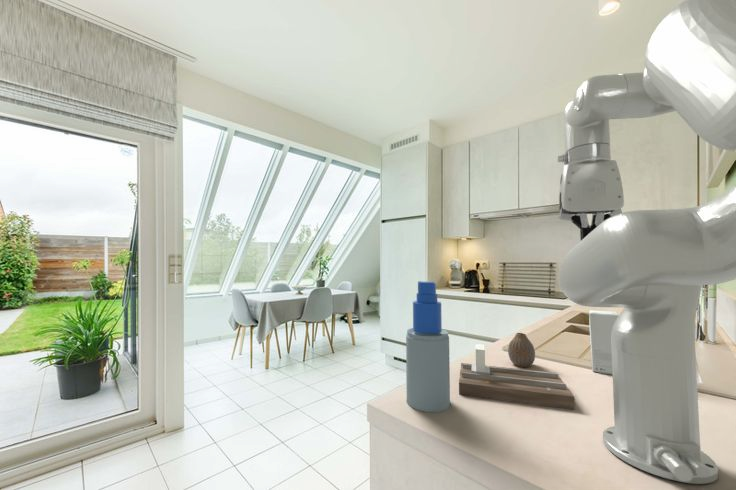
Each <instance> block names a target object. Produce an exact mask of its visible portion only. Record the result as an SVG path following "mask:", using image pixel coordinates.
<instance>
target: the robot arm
mask: <svg viewBox="0 0 736 490" xmlns="http://www.w3.org/2000/svg"><path fill="white" fill-rule="evenodd" d="M645 49H646V50H645V55H644V56H645V57H644V65H645V66H644V69H643V71H642V72H629V73H628V72H626V73H618V74H617V73H616V74H603V75H595V76H591V77H589V78H586V80H585V81H583V82H582V83H581V84H580V86H579V87H578V89H576V92H575V94H574V98H573V99H572V101H570V102H569V103H567V104H566V106H565V108H564V112H563V116H564V117H563V118H564V119H563V120H564V123H563V124H564V148H565V150H564V151H565V152H564V154H562V155H558V157H557V162H558V163H562V164H563V163H564V166H563V167H562V169H561V175H560V179H559V180H560V181H559V192H558V193H559V195H558V206H559V207H558V208H559V214H558V219H559V220H562V221H567V222H570V223H573V225H574V226H576V227H577V229H579V230H580V231H579V232H580V233H579V234H580V235H579V236H580V237H579V238H580V241H579V242H578V243H576V244H575V246H573V247H572V248H571V249H570V250H569V251H568V252H567V253H566V255H565V256H564V258H563V259H562V260H561V261H562V262H561V264H560V265H559V271H558V284H559V287H560V290H561V291H562V293H563V294H564V296H565V297H567V299H568V300H570V301H571V302H573V304H574V303H575V304H577V305H580V306H582V307H589V308H621V309H622V308H623V309H622V310H621V312H620V313H619V314H618V318H617V319H616V321H615V323H614V325H613V328H612V333H611V350H612V393H613V395H612V396H613V417H614V421H613V422H614V425H612V426H609V427H606V429H604V431H602V440H603V441H602V442H603V444H604V446H605V447H606V448H607V450H609V451H610V452H611V453H612V454H613V455H615V457H618V458H619V459H621V460H622V461H623V462H625V463H627V464H628V465H631V466H632V467H634V468H637V469H639V470H642V471H643V472H646V473H649V474H652V475H654V476H656V477H660V478H663V479H666V480H671V481H675V482H679V483H685V484H694V485H703V484H705V485H707V484H709V483H714V482H715V481H717V480H718V478H719V469H718V465H717V463H716V462H715V460H714V459H712V457H710V456H709V455H708V454H707V453H705V452H704V451H702V450H701V434H700V433H701V431H700V417H699V416H700V414H699V399H698V396H699V395H698V377H697V359H696V357H697V356H696V317H697V315H696V314H697V310H698V305H699V300H700V296H701V292H702V286H711V285H720V284H723V283H728V282H732V281H734V280H735V281H736V185H734V186H732V187H731V188H730V189H729V190H727V191H725V192H723V193H722V194H720V195H718V196H717V197H715V198H713V199H711V200H710V201H707V202H705V203H702V204H701V205H698V206H693V207H685V208H676V209H674V208H669V209H668V208H667V209H639V210H630V211H625V212H623V211H622V208H623V207H624V205H625V197H624V190H623V189H624V188H623V182H622V177H621V173H620V169H619V166H618V163H617V160H616V159H615V160H613V159H611V137H610V135H611V133H610V132H611V131H610V120H622V119H623V120H624V119H646V118H651V117H656V116H661V115H664V114H668V113H673V112H676V113H677V114H678V115H679V116H680V118H682V119H683V121H685V123H686V124H687V125H688V126H689V127H690V128H691V129H692V131H693V132H694V133H695V134H696V135H697V136H699V138H701V139H702V140H703V141H704V142H706V143H708V144H710V145H711V146H714V147H716V148H719V149H721V150H726V151H728V152H729V151H730V152H735V153H736V0H683V1H681V3H679V4H678V5H677V6H675V7H674V8H673V9H672V10H670V12H669V13H667V14H666V15H665V17H663V18H662V20H661V21H660V23H659V24H658V25H657V26H656V27H655V30H654V31H653V33H652V34H651V37H650V38H649V41H648V43H647V46H646V48H645ZM588 215H591V222H590V224H589V219H588Z"/></svg>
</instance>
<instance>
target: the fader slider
mask: <svg viewBox="0 0 736 490" xmlns="http://www.w3.org/2000/svg"><path fill="white" fill-rule="evenodd" d="M471 364H472V373H477V374H486V375H490V369H489V366H490V365H486V350H485V344H484V343H483V344H481V343H475V364H474V363H471Z"/></svg>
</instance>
